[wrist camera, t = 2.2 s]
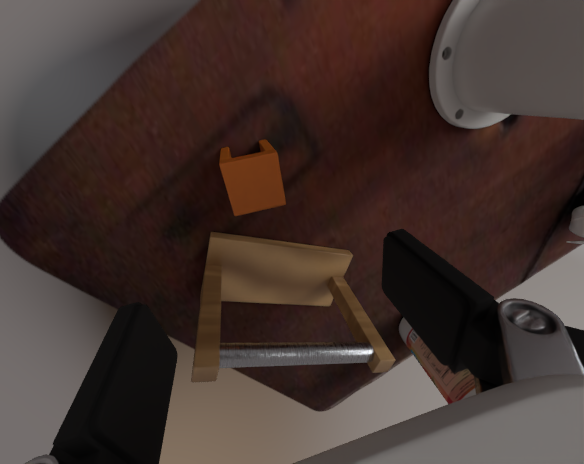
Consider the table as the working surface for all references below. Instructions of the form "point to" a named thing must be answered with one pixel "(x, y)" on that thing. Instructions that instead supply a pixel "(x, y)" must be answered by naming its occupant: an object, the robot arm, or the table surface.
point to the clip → (253, 179)
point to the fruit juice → (438, 368)
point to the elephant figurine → (577, 223)
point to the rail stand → (279, 290)
